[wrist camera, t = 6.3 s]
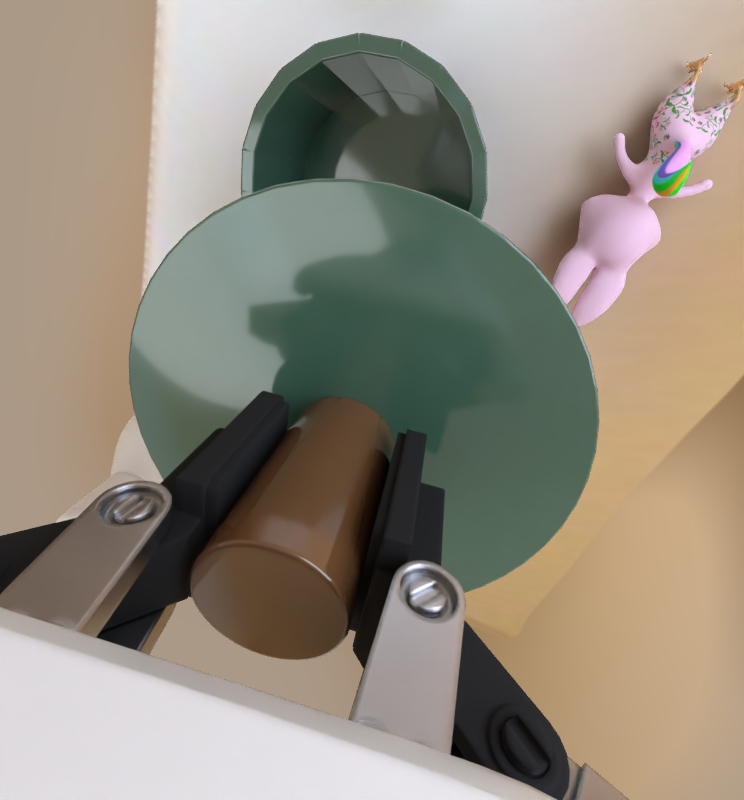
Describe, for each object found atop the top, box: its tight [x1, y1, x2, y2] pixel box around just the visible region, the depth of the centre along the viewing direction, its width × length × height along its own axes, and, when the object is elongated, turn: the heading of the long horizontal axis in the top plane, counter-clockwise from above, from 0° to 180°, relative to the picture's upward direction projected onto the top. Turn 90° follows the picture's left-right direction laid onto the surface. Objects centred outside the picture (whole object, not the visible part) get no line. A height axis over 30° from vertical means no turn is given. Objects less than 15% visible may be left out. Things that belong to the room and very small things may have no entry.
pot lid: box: [129, 178, 599, 660], centre depth 10 cm, size 14×14×7 cm
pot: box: [241, 33, 487, 220], centre depth 25 cm, size 13×13×8 cm
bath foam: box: [56, 415, 163, 523], centre depth 28 cm, size 7×7×20 cm
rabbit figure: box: [551, 53, 744, 327], centre depth 24 cm, size 6×6×15 cm
